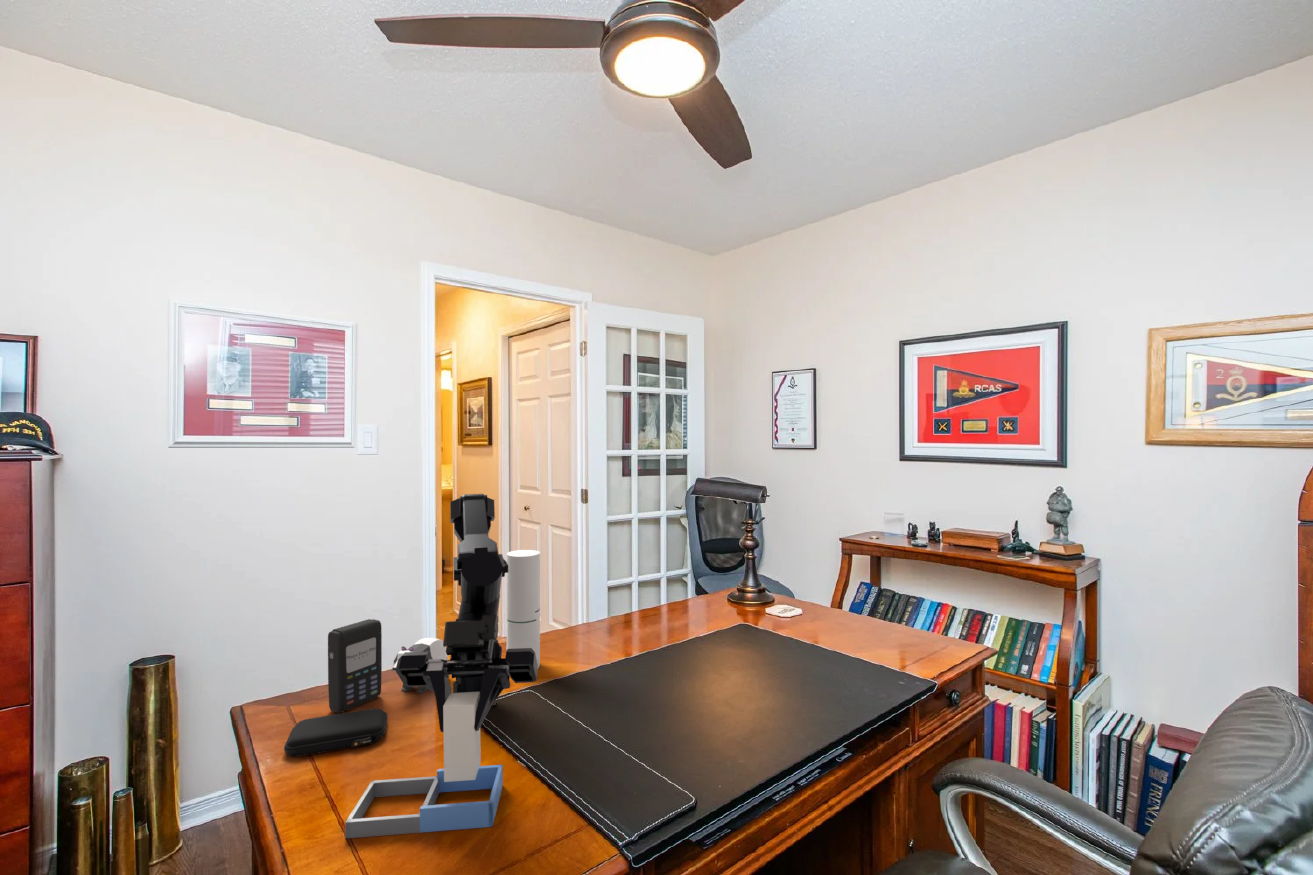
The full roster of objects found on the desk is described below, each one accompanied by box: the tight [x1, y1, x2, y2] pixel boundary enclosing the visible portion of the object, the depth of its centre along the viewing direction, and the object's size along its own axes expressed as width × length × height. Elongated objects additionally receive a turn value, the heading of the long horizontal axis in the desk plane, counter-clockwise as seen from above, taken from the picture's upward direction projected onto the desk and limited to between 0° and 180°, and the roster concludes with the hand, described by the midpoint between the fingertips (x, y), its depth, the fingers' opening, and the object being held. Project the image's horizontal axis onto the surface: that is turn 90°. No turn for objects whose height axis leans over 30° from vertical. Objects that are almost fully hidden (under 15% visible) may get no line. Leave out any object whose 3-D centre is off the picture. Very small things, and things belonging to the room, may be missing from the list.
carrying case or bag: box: [283, 708, 389, 758], centre depth 99 cm, size 11×3×15 cm
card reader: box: [327, 618, 383, 714], centre depth 113 cm, size 9×4×15 cm, turn 151°
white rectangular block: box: [443, 692, 482, 782], centre depth 81 cm, size 4×4×10 cm
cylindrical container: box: [506, 549, 541, 669], centre depth 130 cm, size 7×7×25 cm
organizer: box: [344, 764, 504, 839], centre depth 80 cm, size 18×9×3 cm, turn 97°
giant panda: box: [391, 637, 449, 694], centre depth 120 cm, size 15×6×10 cm, turn 168°
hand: (459, 730), depth 79 cm, fingers closed on white rectangular block, 4 cm apart
